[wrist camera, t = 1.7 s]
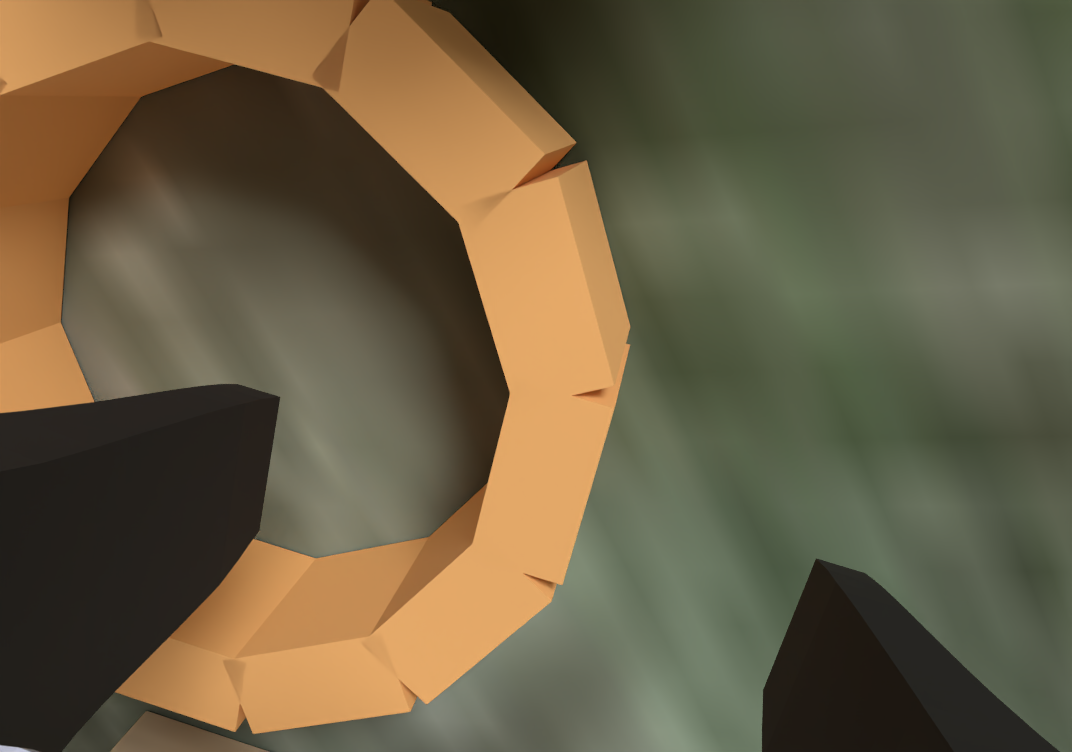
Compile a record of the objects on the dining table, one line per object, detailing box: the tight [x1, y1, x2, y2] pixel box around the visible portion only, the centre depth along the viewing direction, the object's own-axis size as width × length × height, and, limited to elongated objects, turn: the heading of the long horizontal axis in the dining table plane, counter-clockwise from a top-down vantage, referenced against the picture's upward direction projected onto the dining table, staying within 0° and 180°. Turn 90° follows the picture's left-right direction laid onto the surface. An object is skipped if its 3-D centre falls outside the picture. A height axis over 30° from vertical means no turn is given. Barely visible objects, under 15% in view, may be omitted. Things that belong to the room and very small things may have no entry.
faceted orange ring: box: [0, 0, 630, 734], centre depth 15 cm, size 12×12×4 cm
